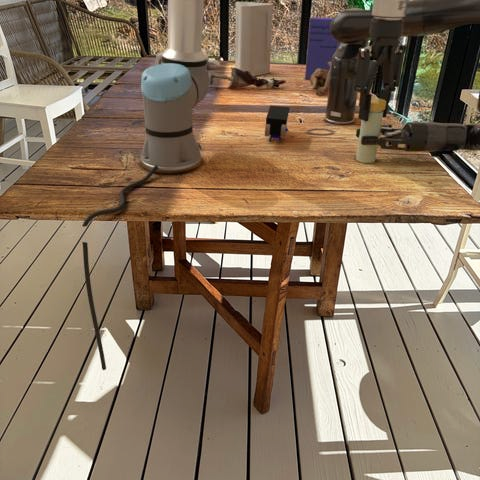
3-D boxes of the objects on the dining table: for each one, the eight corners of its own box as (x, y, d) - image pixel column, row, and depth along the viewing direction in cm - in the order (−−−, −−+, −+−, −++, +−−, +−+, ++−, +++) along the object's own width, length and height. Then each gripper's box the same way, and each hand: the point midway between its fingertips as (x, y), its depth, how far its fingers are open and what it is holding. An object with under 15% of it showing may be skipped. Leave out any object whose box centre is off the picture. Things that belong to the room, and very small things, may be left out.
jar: (354, 161, 126) (362, 105, 118) (357, 155, 130) (366, 100, 122) (373, 164, 124) (382, 107, 117) (376, 157, 128) (385, 102, 121)
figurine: (210, 87, 179) (288, 95, 182) (212, 65, 176) (291, 73, 180) (208, 84, 201) (278, 91, 205) (210, 64, 198) (280, 71, 202)
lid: (371, 103, 123) (372, 96, 122) (389, 108, 120) (390, 101, 119) (357, 107, 120) (358, 100, 119) (375, 112, 117) (377, 105, 116)
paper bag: (273, 76, 210) (276, 6, 196) (239, 77, 209) (240, 6, 194) (266, 67, 226) (268, 2, 212) (235, 67, 225) (235, 1, 210)
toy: (175, 75, 210) (174, 58, 206) (151, 64, 228) (150, 49, 224) (222, 69, 222) (222, 53, 218) (195, 59, 239) (195, 45, 236)
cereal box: (344, 77, 210) (352, 18, 198) (346, 80, 206) (353, 19, 194) (305, 76, 211) (309, 17, 199) (305, 79, 207) (310, 18, 195)
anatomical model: (320, 97, 196) (320, 98, 182) (304, 82, 195) (303, 82, 181) (342, 73, 192) (344, 72, 177) (327, 57, 191) (327, 56, 177)
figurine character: (286, 149, 136) (289, 127, 148) (287, 124, 131) (290, 104, 143) (262, 148, 137) (267, 126, 149) (263, 123, 132) (268, 103, 144)
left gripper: (369, 21, 102) (354, 127, 114) (428, 17, 111) (409, 116, 123) (346, 18, 108) (334, 119, 120) (404, 14, 116) (387, 109, 128)
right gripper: (417, 114, 128) (354, 114, 128) (437, 131, 116) (368, 131, 116) (411, 141, 132) (350, 141, 132) (430, 160, 120) (363, 160, 120)
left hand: (372, 117), depth 121 cm, fingers closed on lid, 6 cm apart
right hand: (359, 136), depth 124 cm, fingers closed on jar, 5 cm apart
